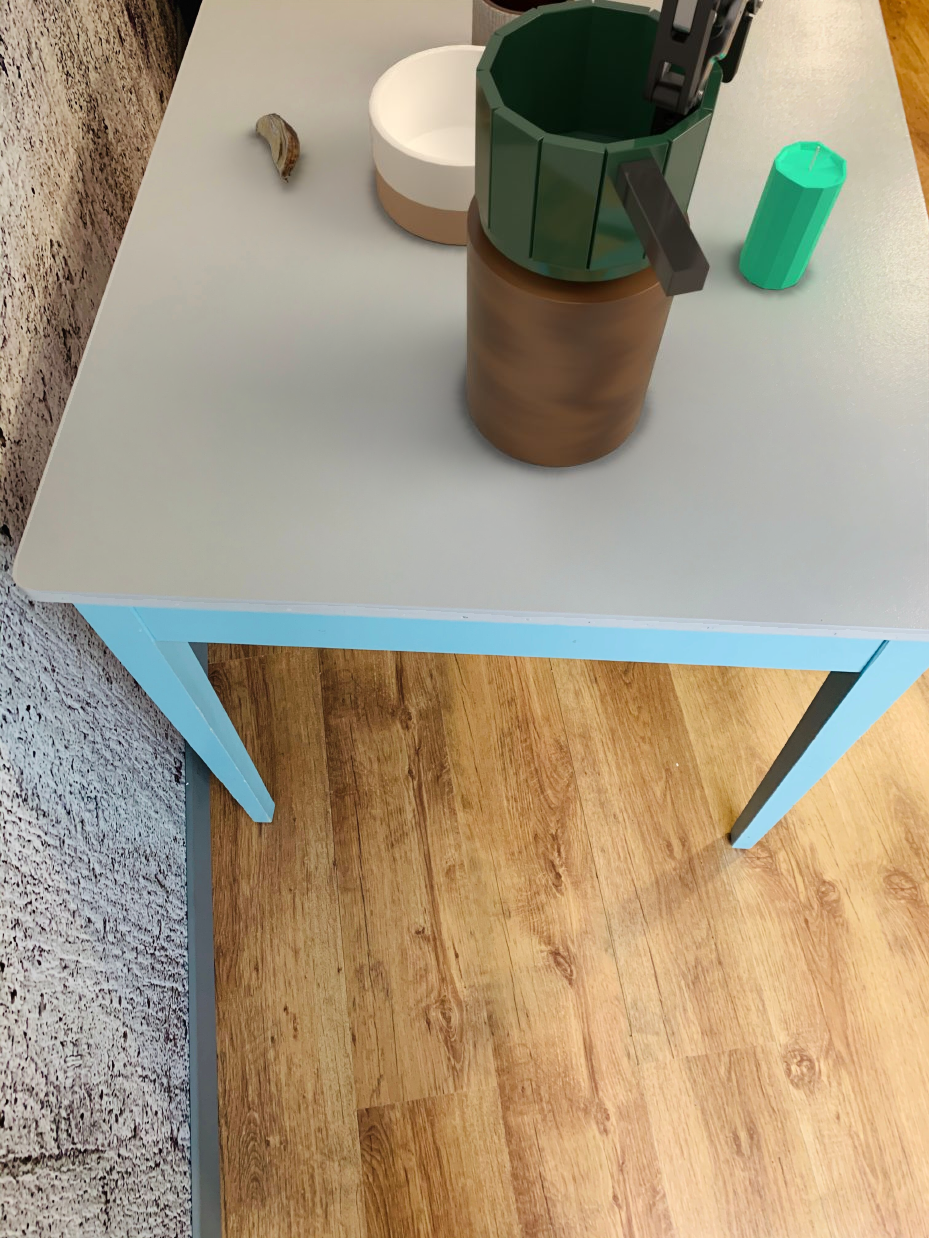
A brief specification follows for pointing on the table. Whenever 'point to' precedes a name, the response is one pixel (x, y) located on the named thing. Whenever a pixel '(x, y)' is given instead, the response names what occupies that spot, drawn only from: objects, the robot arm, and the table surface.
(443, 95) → the bowl
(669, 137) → the pot
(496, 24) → the planter
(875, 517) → the table surface
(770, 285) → the candle
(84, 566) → the table surface
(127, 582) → the table surface
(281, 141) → the oyster shell
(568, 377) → the stand
